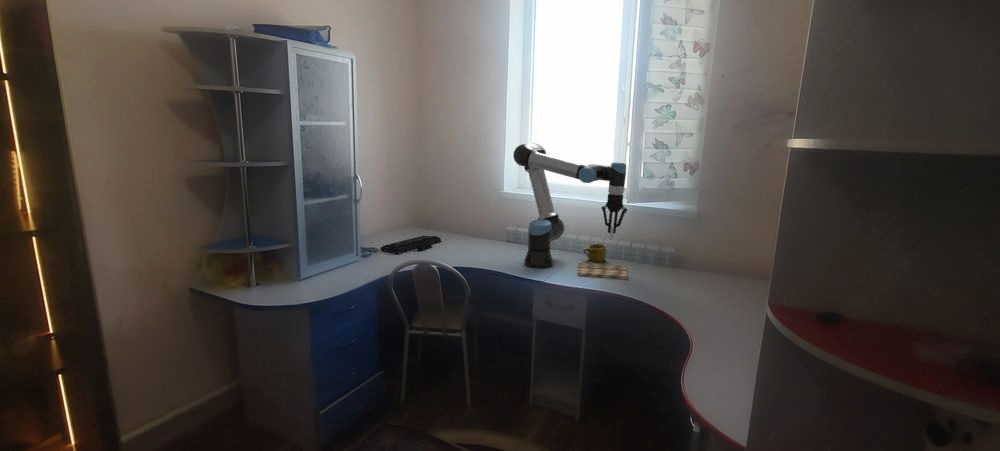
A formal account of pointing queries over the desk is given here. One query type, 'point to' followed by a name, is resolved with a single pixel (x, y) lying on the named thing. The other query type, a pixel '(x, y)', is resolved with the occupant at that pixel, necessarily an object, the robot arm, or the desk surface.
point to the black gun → (412, 244)
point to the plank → (602, 266)
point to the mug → (596, 252)
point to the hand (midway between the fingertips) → (610, 239)
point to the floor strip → (602, 273)
